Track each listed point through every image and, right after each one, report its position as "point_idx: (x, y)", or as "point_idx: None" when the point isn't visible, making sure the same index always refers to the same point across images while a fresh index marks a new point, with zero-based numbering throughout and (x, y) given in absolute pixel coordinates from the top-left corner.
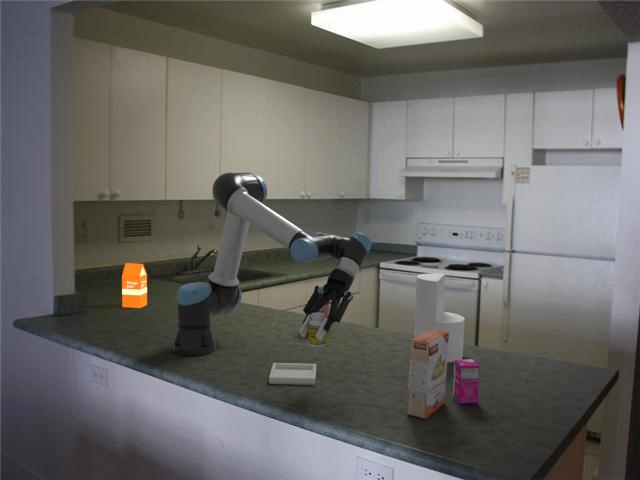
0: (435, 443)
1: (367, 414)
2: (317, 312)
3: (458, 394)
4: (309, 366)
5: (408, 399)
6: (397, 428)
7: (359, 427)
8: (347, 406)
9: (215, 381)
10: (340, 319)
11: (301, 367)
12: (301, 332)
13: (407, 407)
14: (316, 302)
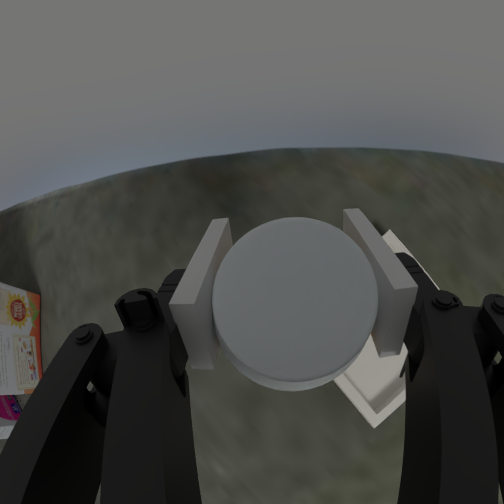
0: (8, 234)
1: (88, 249)
2: (352, 351)
3: (2, 396)
4: (384, 405)
5: (18, 288)
6: (42, 237)
7: (83, 196)
8: (132, 255)
9: (456, 171)
10: (94, 389)
11: (402, 386)
12: (344, 215)
13: (30, 292)
14: (481, 438)
